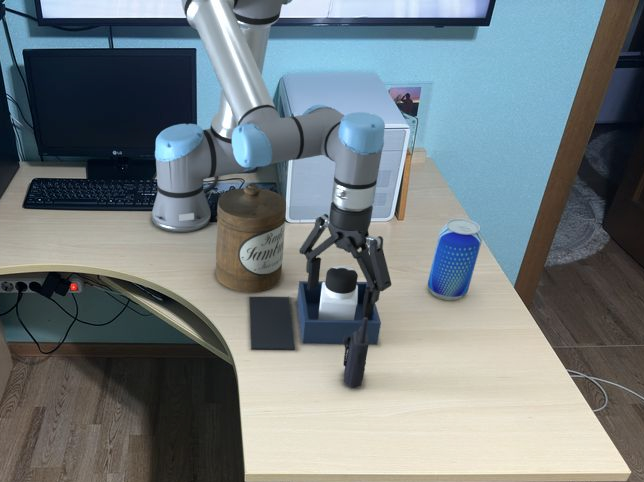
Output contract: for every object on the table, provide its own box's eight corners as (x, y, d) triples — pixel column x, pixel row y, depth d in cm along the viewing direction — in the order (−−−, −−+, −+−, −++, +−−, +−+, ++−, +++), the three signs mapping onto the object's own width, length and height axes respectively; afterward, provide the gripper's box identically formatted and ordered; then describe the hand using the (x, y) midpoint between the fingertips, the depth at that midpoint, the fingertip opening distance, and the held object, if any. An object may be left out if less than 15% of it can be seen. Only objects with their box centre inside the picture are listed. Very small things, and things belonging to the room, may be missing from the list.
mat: (249, 298, 146) (249, 296, 145) (288, 298, 145) (288, 297, 145) (251, 349, 132) (251, 348, 131) (294, 350, 131) (294, 348, 131)
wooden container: (253, 300, 145) (258, 207, 131) (202, 276, 153) (202, 186, 139) (294, 273, 153) (302, 183, 140) (244, 251, 161) (247, 164, 148)
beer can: (424, 298, 145) (440, 231, 135) (428, 278, 151) (443, 213, 141) (465, 305, 142) (484, 238, 132) (467, 284, 148) (485, 219, 138)
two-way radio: (362, 390, 122) (374, 324, 112) (337, 388, 122) (347, 321, 113) (361, 371, 126) (373, 305, 117) (337, 368, 127) (347, 303, 117)
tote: (297, 301, 144) (299, 281, 141) (365, 302, 144) (369, 281, 140) (302, 343, 133) (304, 321, 130) (377, 344, 132) (381, 322, 129)
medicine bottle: (352, 333, 135) (361, 282, 127) (316, 329, 136) (323, 279, 128) (353, 313, 140) (361, 263, 133) (319, 309, 141) (324, 260, 134)
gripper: (286, 188, 127) (279, 283, 140) (399, 233, 112) (379, 335, 125) (312, 177, 131) (303, 270, 144) (424, 219, 116) (402, 318, 129)
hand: (338, 300), depth 135 cm, fingers open, 13 cm apart
